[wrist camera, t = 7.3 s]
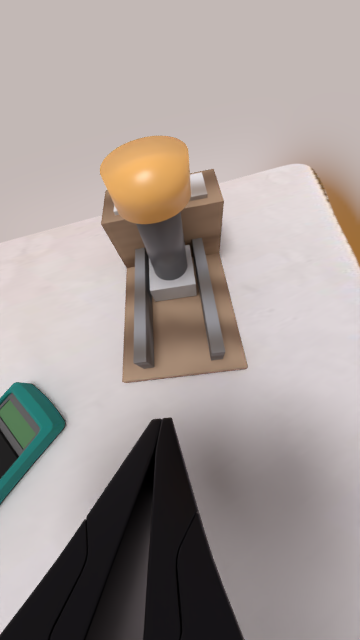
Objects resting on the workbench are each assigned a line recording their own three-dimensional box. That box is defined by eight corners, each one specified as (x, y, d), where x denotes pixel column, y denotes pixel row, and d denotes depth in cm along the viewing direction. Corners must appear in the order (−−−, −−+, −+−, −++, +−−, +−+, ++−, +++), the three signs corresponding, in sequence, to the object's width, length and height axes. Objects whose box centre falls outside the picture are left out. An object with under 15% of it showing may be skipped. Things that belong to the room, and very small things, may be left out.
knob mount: (245, 368, 19) (272, 346, 11) (126, 382, 20) (77, 370, 12) (211, 228, 28) (213, 164, 20) (130, 243, 29) (104, 186, 21)
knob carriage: (199, 295, 22) (193, 175, 10) (152, 302, 23) (95, 195, 11) (193, 258, 25) (183, 128, 13) (150, 265, 25) (103, 146, 14)
